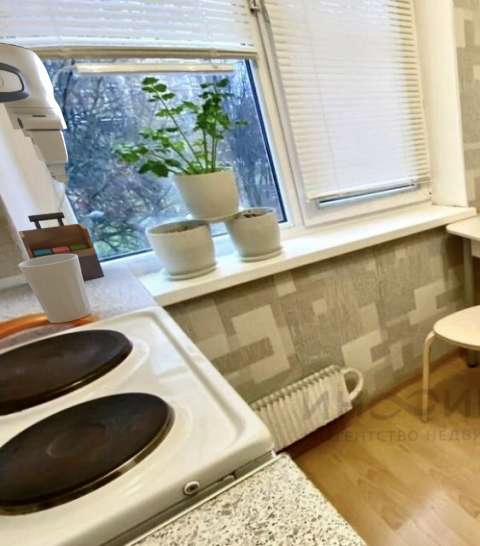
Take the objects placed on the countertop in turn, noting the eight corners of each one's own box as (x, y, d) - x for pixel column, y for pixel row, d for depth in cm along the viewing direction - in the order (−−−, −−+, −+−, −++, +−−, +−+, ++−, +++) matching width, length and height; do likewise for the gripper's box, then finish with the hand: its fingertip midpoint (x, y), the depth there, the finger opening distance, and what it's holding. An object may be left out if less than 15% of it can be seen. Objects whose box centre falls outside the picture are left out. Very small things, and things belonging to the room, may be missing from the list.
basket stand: (42, 288, 99) (32, 265, 97) (38, 280, 105) (28, 257, 103) (104, 276, 107) (96, 254, 105) (97, 268, 113) (89, 247, 111)
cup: (105, 311, 87) (85, 256, 83) (53, 327, 80) (28, 268, 76) (86, 305, 90) (66, 252, 86) (35, 320, 83) (10, 263, 79)
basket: (32, 265, 97) (15, 223, 94) (28, 256, 103) (12, 217, 100) (96, 254, 105) (82, 214, 102) (89, 247, 112) (75, 209, 108)
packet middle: (55, 256, 102) (53, 251, 101) (52, 252, 105) (51, 248, 104) (71, 253, 104) (69, 249, 103) (68, 250, 107) (66, 245, 106)
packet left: (36, 259, 99) (34, 254, 99) (34, 255, 102) (32, 251, 102) (53, 256, 101) (51, 252, 101) (51, 253, 104) (49, 248, 104)
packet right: (73, 253, 104) (71, 248, 103) (70, 250, 107) (68, 245, 106) (88, 251, 106) (87, 246, 105) (85, 247, 109) (83, 243, 108)
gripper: (15, 122, 103) (37, 179, 108) (22, 121, 91) (46, 185, 95) (52, 122, 108) (71, 176, 112) (63, 121, 95) (84, 182, 100)
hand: (60, 180), depth 104 cm, fingers open, 8 cm apart
